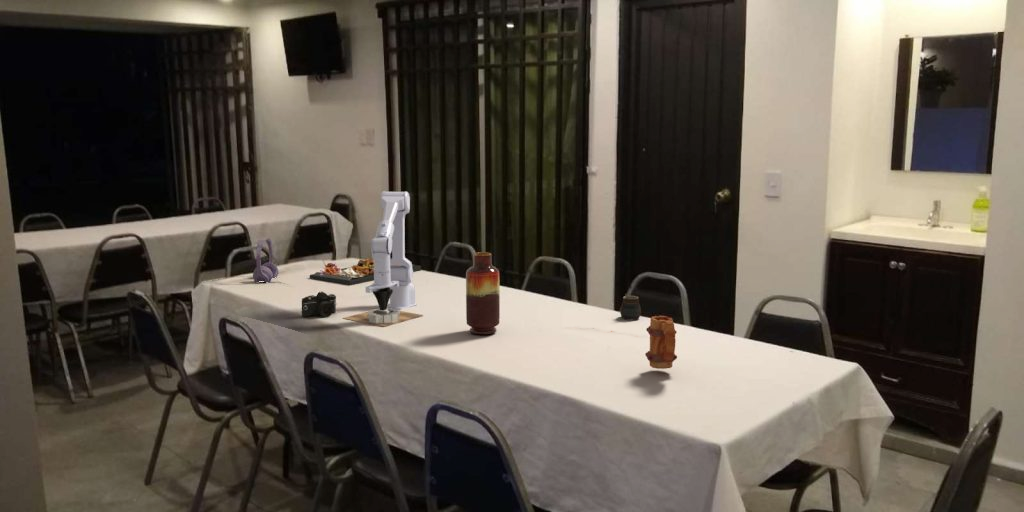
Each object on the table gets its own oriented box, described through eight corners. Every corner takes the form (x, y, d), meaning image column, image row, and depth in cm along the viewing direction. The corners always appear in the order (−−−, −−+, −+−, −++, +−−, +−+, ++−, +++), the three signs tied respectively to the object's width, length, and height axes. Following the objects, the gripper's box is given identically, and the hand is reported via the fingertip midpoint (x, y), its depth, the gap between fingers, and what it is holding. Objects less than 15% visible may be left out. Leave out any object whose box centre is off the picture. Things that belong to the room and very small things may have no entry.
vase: (504, 328, 277) (504, 251, 273) (492, 336, 267) (492, 256, 263) (473, 326, 281) (473, 250, 277) (461, 333, 270) (460, 255, 266)
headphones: (269, 287, 349) (267, 240, 346) (249, 287, 349) (247, 240, 346) (281, 279, 367) (279, 234, 364) (263, 279, 367) (261, 234, 364)
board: (382, 308, 307) (382, 307, 307) (423, 316, 295) (423, 314, 295) (342, 319, 291) (342, 318, 291) (383, 326, 279) (383, 325, 279)
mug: (642, 362, 237) (643, 311, 234) (670, 362, 237) (671, 311, 235) (655, 378, 222) (656, 323, 220) (684, 377, 223) (686, 323, 221)
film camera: (303, 322, 287) (312, 297, 285) (295, 312, 293) (303, 287, 291) (337, 325, 296) (346, 300, 294) (329, 315, 302) (337, 291, 299)
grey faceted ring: (383, 315, 295) (382, 306, 295) (405, 319, 289) (405, 310, 288) (360, 320, 286) (360, 312, 286) (383, 325, 280) (383, 316, 280)
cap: (382, 317, 291) (382, 307, 290) (393, 319, 288) (393, 309, 288) (373, 320, 287) (372, 310, 286) (383, 322, 284) (383, 312, 284)
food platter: (350, 291, 343) (349, 266, 341) (309, 285, 356) (309, 261, 355) (421, 275, 379) (420, 253, 378) (381, 270, 393) (381, 248, 392)
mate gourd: (643, 318, 292) (644, 290, 290) (637, 322, 285) (637, 294, 284) (623, 316, 295) (624, 288, 294) (617, 320, 288) (617, 292, 287)
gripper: (388, 267, 293) (389, 304, 295) (358, 273, 281) (359, 312, 284) (403, 269, 289) (403, 307, 291) (373, 275, 277) (374, 314, 279)
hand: (383, 309), depth 287 cm, fingers closed
